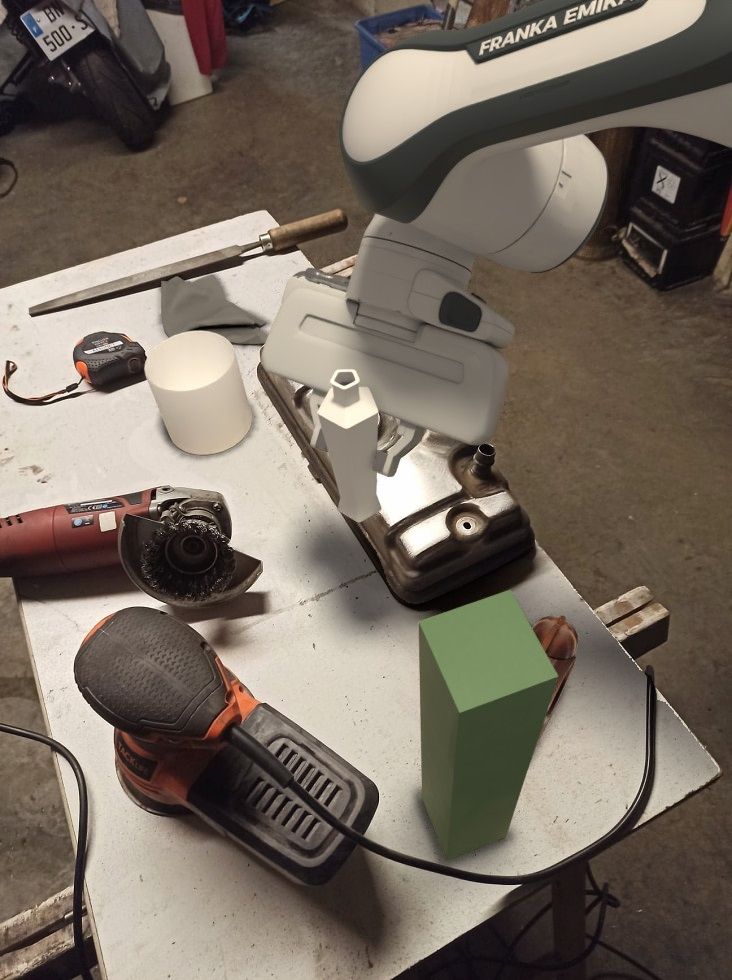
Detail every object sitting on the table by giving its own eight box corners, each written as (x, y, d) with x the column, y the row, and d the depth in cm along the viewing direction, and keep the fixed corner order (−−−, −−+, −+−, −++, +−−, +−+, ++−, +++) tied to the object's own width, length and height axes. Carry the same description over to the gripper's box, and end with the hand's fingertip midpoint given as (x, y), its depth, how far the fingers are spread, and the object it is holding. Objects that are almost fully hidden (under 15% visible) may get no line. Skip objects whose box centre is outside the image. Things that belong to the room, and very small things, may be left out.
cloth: (132, 296, 124) (128, 285, 122) (204, 264, 128) (201, 252, 127) (205, 379, 110) (202, 367, 108) (283, 339, 114) (281, 327, 113)
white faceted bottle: (376, 530, 63) (364, 406, 52) (329, 518, 65) (307, 394, 53) (393, 490, 66) (386, 363, 54) (348, 479, 67) (331, 352, 55)
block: (506, 836, 68) (559, 676, 41) (446, 861, 67) (459, 713, 40) (479, 774, 72) (510, 588, 45) (421, 796, 71) (418, 621, 44)
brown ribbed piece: (523, 771, 72) (542, 711, 60) (479, 745, 74) (488, 682, 62) (569, 681, 77) (594, 610, 65) (527, 659, 79) (544, 586, 67)
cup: (172, 400, 108) (147, 335, 98) (251, 390, 108) (235, 325, 98) (166, 460, 100) (140, 396, 91) (252, 450, 100) (234, 385, 91)
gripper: (274, 252, 58) (227, 420, 61) (518, 322, 51) (453, 509, 53) (311, 270, 64) (267, 422, 67) (535, 335, 57) (476, 503, 59)
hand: (351, 461), depth 60 cm, fingers closed on white faceted bottle, 4 cm apart
